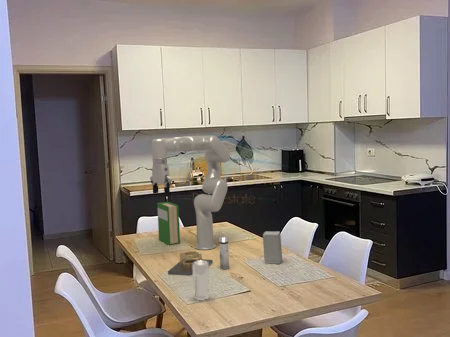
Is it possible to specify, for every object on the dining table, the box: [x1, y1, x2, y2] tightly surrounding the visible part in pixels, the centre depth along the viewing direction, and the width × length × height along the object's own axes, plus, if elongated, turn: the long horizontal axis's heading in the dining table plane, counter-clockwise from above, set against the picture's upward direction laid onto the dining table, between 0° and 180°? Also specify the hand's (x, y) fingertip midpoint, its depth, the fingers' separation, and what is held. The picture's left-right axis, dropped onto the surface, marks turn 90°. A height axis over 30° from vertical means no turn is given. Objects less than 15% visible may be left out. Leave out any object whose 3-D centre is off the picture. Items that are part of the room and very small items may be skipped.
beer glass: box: [192, 260, 210, 301], centre depth 186 cm, size 7×7×15 cm
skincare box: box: [262, 231, 283, 265], centre depth 232 cm, size 8×7×16 cm
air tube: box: [218, 235, 230, 271], centre depth 224 cm, size 5×5×16 cm
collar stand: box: [167, 251, 213, 276], centre depth 227 cm, size 22×16×8 cm
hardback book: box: [156, 201, 181, 246], centre depth 283 cm, size 18×7×24 cm, turn 28°
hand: (161, 193), depth 241 cm, fingers open, 9 cm apart
